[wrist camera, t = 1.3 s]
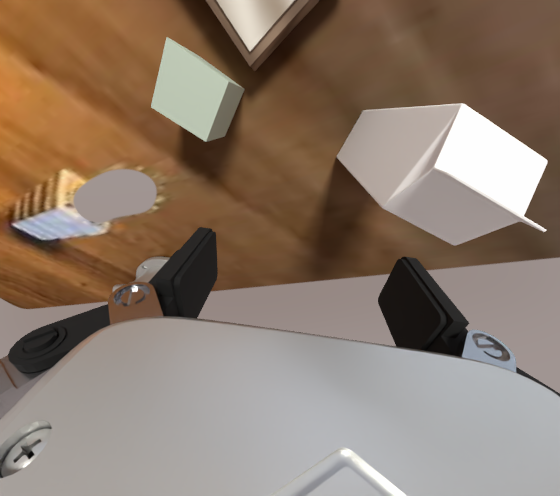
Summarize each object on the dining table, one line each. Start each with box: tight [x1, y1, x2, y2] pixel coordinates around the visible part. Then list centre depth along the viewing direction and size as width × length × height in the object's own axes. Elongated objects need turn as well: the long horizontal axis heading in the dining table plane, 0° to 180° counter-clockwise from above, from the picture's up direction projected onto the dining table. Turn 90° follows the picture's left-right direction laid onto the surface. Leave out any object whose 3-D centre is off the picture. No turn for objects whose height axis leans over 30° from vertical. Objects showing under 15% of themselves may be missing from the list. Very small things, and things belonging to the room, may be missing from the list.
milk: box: [337, 104, 547, 245], centre depth 19 cm, size 6×6×22 cm
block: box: [151, 37, 245, 142], centre depth 24 cm, size 6×6×7 cm
